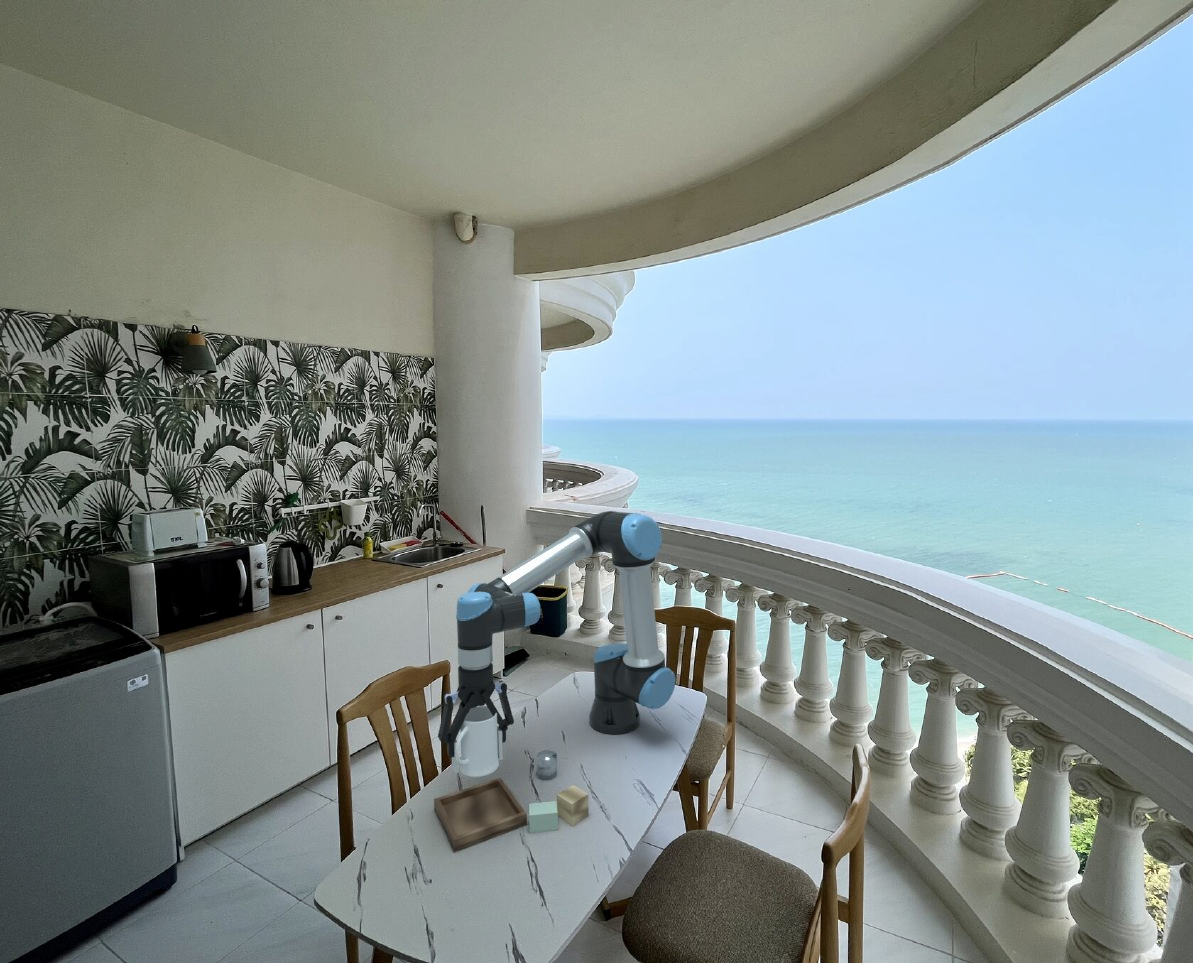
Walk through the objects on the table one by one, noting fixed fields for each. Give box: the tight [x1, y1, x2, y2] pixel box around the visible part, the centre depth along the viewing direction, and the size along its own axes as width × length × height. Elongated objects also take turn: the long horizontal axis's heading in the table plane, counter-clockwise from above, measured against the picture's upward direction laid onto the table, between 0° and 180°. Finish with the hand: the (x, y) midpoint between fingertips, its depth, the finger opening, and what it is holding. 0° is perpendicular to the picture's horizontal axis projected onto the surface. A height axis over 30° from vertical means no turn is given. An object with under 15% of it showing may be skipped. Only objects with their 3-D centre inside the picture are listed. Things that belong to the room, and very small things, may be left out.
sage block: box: [528, 800, 559, 834], centre depth 121 cm, size 6×4×4 cm, turn 98°
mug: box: [455, 705, 500, 778], centre depth 123 cm, size 12×8×12 cm
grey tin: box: [536, 749, 558, 781], centre depth 140 cm, size 5×5×5 cm
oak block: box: [556, 784, 590, 827], centre depth 124 cm, size 5×5×5 cm
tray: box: [433, 777, 528, 853], centre depth 124 cm, size 16×16×2 cm
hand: (477, 763), depth 124 cm, fingers closed on mug, 9 cm apart
